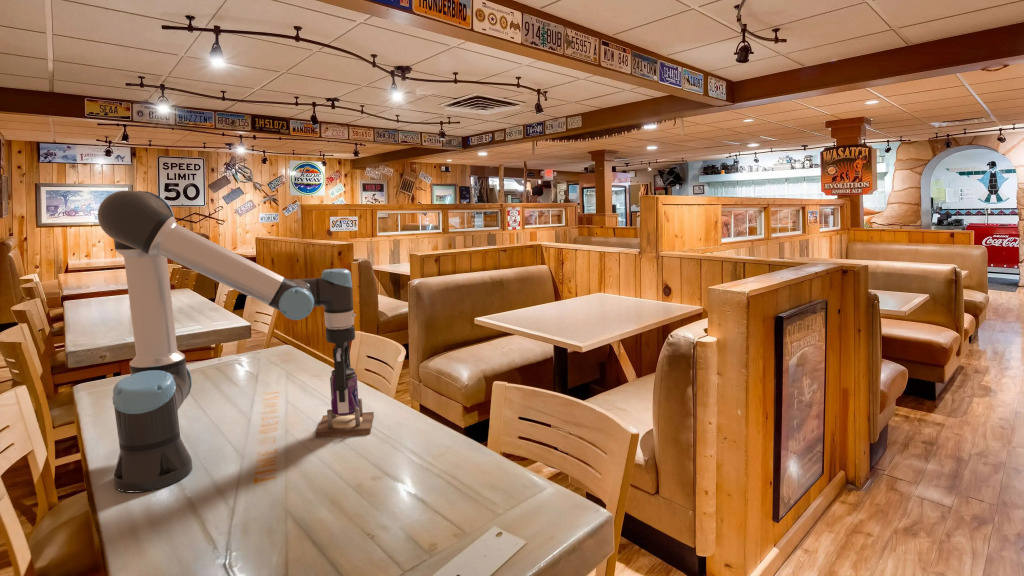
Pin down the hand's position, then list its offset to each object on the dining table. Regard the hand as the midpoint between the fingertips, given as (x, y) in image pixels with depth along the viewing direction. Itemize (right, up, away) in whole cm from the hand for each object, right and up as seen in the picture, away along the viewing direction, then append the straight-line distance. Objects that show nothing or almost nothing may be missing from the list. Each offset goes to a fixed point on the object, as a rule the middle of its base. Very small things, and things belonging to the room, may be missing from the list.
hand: (345, 407), depth 154 cm
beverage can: (0, -2, 0) cm, 2 cm away
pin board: (0, -6, +1) cm, 6 cm away
